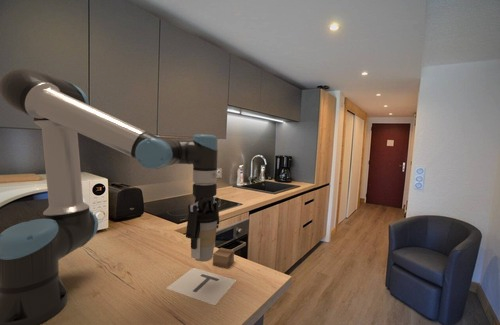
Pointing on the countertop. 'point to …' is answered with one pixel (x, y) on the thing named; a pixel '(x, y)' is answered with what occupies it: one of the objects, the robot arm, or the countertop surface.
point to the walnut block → (223, 258)
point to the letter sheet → (202, 285)
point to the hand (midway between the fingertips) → (203, 252)
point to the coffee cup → (207, 234)
